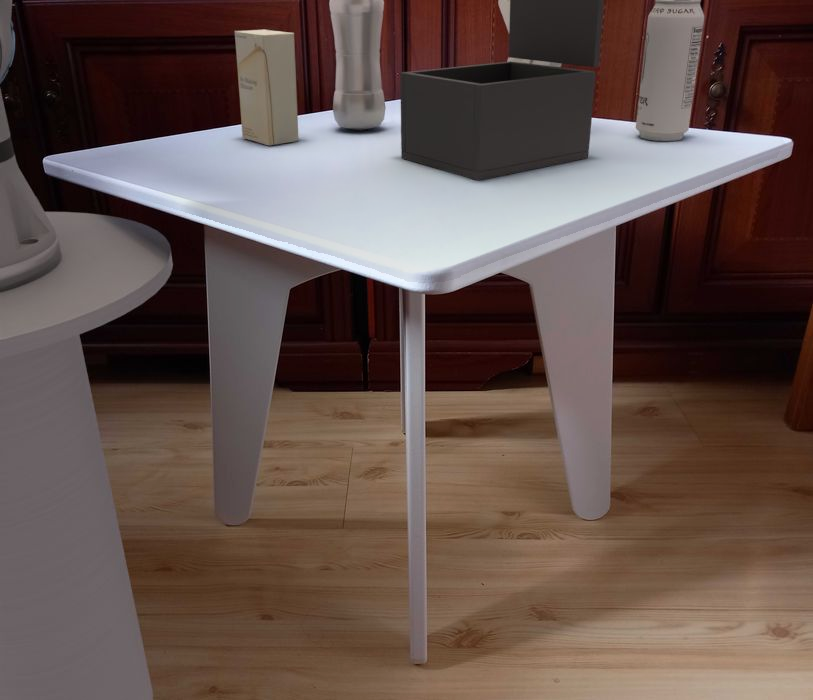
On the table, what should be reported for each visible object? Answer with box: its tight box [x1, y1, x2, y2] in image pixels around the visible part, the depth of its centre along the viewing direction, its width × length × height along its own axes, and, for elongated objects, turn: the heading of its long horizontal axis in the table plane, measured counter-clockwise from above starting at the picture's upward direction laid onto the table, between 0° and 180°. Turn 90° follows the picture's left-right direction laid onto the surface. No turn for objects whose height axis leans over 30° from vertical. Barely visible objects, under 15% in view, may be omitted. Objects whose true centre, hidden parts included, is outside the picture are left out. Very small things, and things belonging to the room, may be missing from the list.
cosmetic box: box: [234, 29, 299, 146], centre depth 94 cm, size 6×4×12 cm
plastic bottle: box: [328, 0, 387, 131], centre depth 98 cm, size 6×7×20 cm
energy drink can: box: [635, 0, 705, 142], centre depth 92 cm, size 6×6×15 cm
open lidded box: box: [399, 61, 597, 181], centre depth 84 cm, size 16×13×9 cm
